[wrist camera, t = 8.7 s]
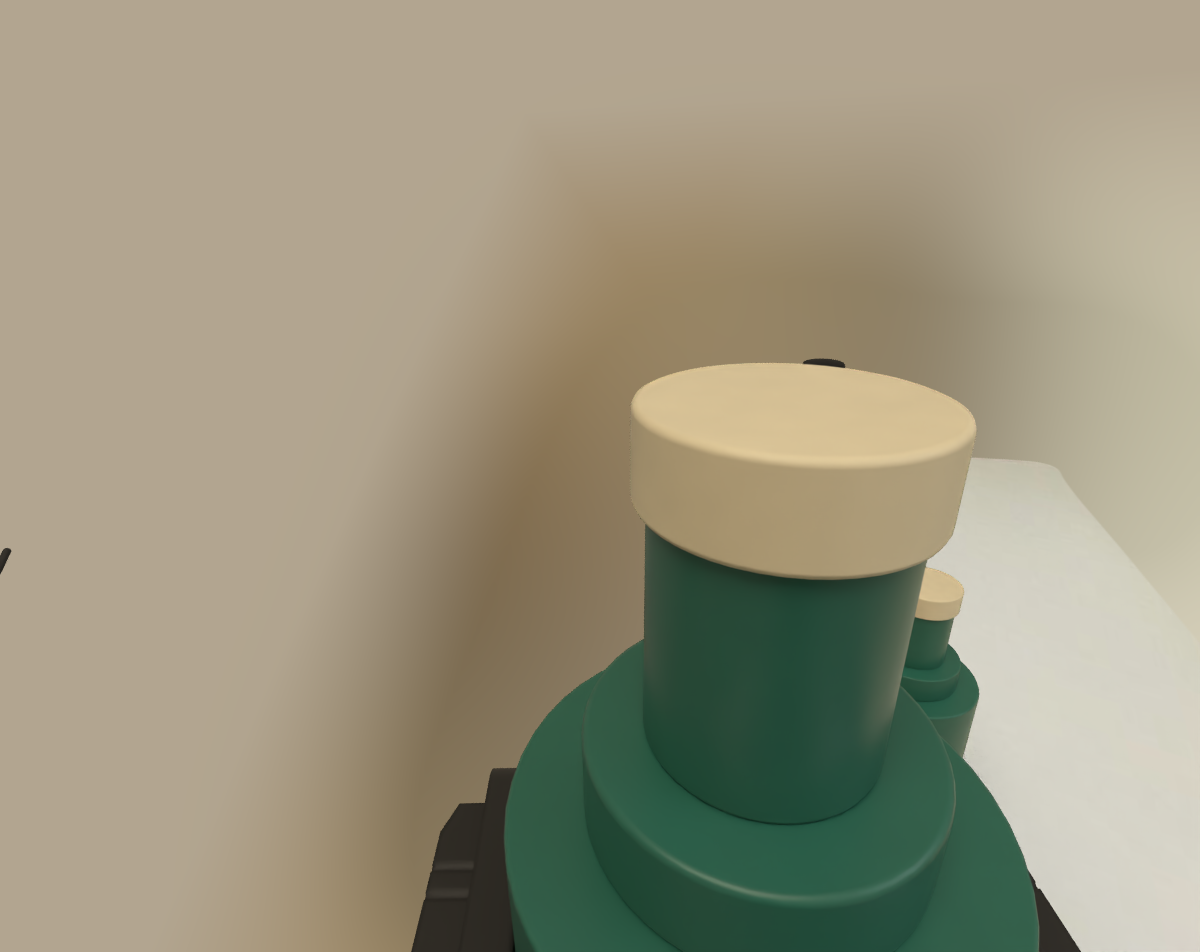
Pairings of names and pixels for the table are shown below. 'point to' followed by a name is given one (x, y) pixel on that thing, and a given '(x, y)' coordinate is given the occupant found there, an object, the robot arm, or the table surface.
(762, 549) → the green bottle
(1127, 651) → the table surface
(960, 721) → the row bottle middle
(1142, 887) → the table surface
